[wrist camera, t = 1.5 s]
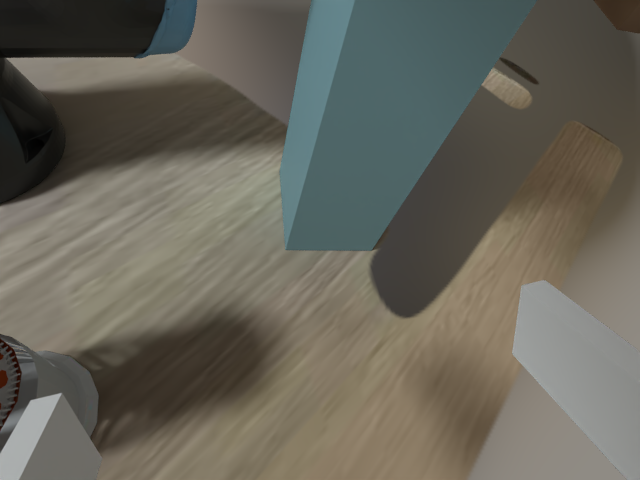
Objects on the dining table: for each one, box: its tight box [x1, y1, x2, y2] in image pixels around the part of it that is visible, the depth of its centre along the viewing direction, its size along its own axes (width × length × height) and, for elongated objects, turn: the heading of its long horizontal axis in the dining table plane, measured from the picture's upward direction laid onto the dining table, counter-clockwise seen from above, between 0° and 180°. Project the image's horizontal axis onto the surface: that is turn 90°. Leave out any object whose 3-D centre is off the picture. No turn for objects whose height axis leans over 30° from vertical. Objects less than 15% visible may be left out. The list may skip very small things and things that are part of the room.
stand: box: [280, 0, 537, 251], centre depth 29 cm, size 10×9×30 cm
